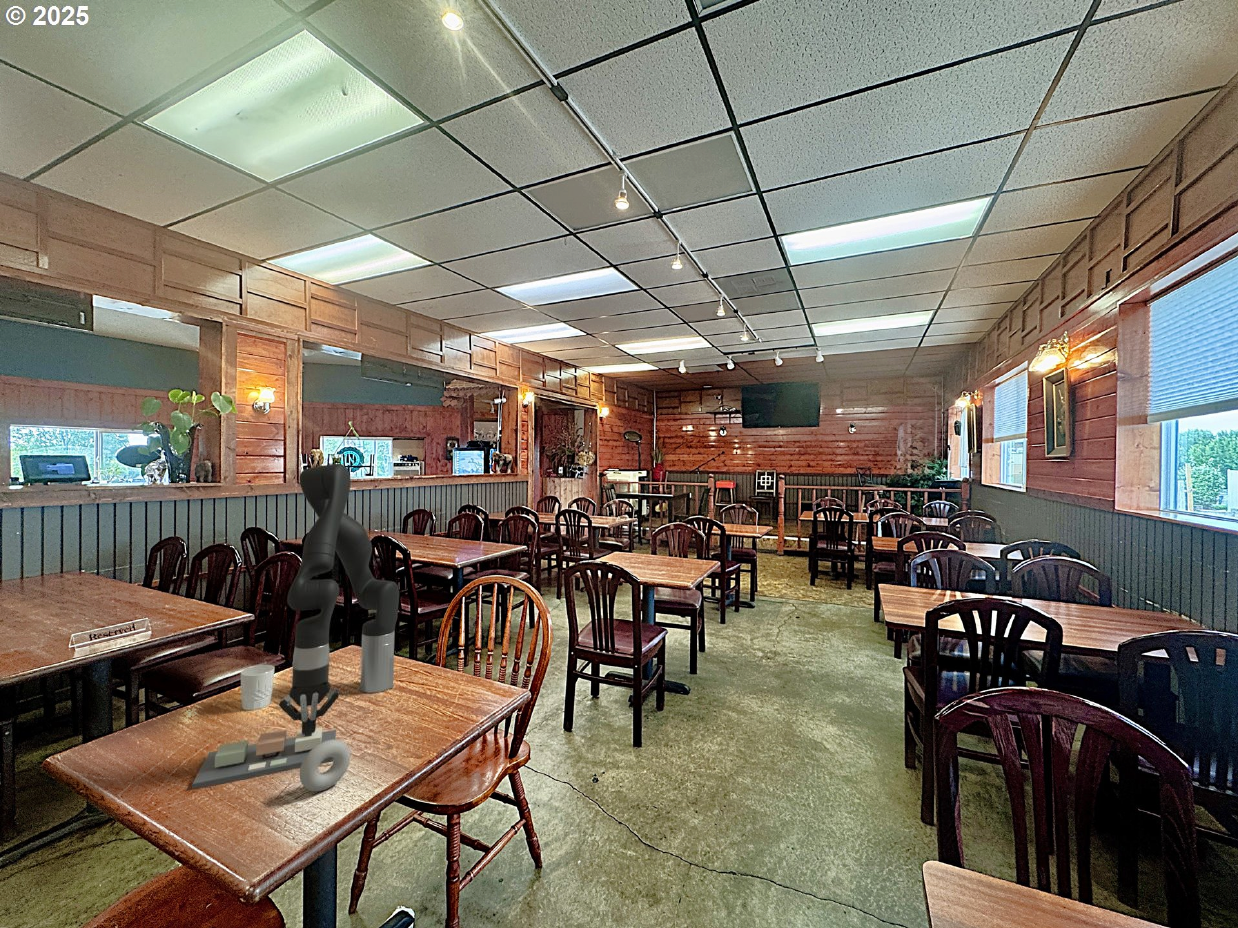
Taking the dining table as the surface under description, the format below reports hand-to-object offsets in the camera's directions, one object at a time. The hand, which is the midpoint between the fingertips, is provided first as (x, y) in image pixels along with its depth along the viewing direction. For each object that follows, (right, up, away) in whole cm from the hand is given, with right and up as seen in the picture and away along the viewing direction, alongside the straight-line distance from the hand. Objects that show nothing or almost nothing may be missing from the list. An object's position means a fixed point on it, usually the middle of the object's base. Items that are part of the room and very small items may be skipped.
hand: (308, 734), depth 122 cm
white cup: (-29, -4, +23) cm, 37 cm away
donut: (+12, -5, -13) cm, 18 cm away
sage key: (-13, -3, -7) cm, 15 cm away
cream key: (0, -4, 0) cm, 4 cm away
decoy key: (-7, -3, -3) cm, 8 cm away
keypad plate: (-7, -4, -3) cm, 9 cm away
